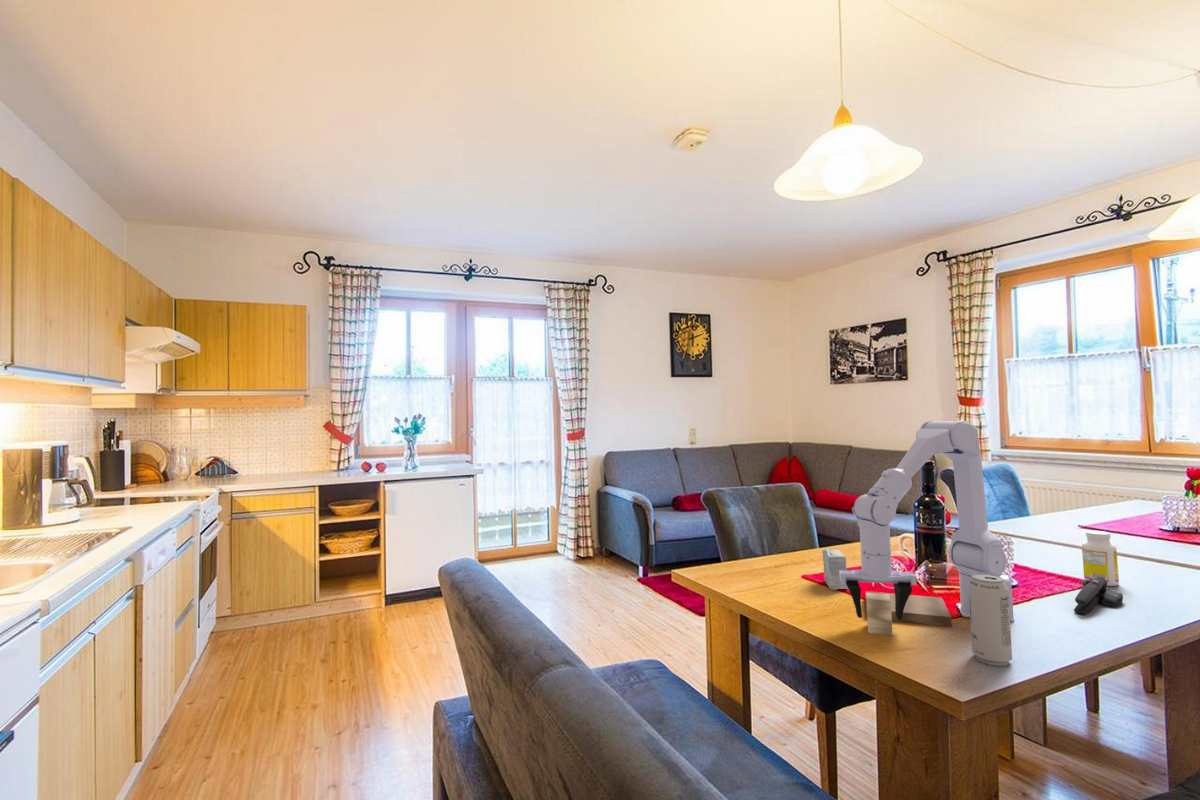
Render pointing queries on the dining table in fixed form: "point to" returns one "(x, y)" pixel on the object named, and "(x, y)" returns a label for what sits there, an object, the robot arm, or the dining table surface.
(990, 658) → the energy drink can
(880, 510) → the robot arm
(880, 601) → the maple block
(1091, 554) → the supplement bottle
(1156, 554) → the dining table surface
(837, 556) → the medicine box
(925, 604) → the taupe rectangular slab
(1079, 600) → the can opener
